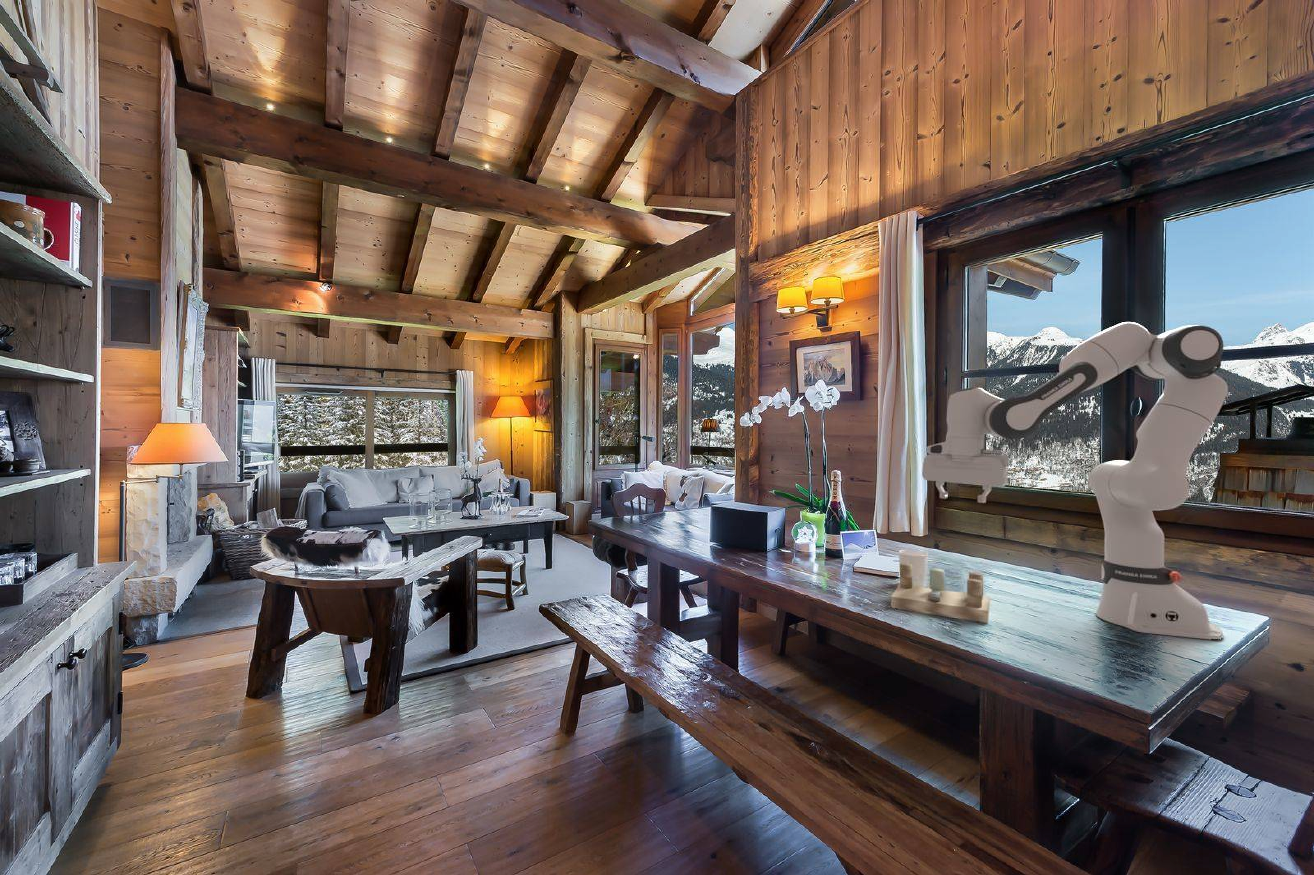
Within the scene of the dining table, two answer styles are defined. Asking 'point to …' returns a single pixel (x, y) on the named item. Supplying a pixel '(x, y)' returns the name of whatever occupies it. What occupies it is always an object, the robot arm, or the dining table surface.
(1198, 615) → the robot arm
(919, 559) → the white cup
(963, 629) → the dining table surface
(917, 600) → the wooden base with posts
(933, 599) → the folding leg
